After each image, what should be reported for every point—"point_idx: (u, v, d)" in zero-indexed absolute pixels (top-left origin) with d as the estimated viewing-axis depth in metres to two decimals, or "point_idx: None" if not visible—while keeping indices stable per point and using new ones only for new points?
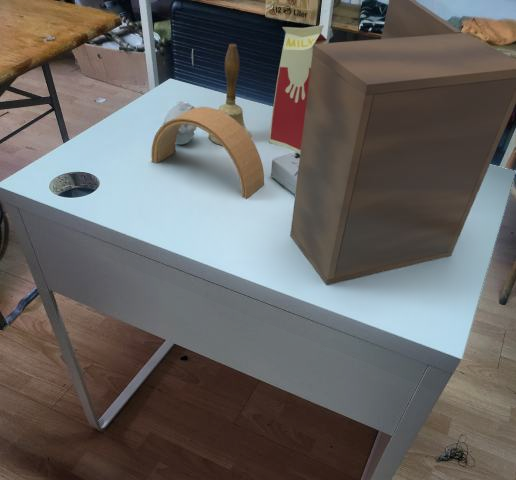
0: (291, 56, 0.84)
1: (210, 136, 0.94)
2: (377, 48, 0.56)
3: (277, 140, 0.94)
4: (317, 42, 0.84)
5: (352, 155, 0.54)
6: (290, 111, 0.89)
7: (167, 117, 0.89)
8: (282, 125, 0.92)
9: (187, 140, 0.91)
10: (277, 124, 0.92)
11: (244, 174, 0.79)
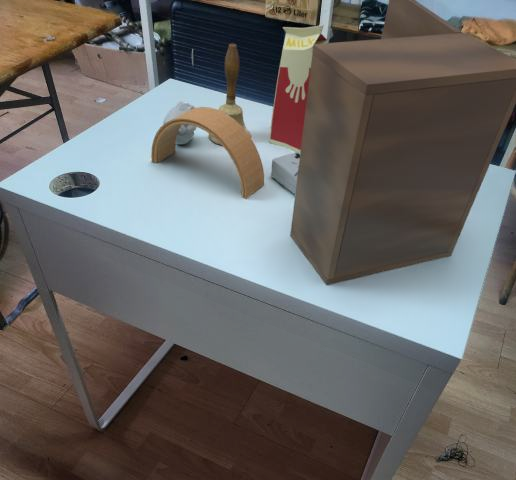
0: (291, 56, 0.84)
1: (210, 136, 0.94)
2: (377, 48, 0.56)
3: (277, 140, 0.94)
4: (317, 42, 0.84)
5: (352, 155, 0.54)
6: (290, 111, 0.89)
7: (167, 117, 0.89)
8: (282, 125, 0.92)
9: (187, 140, 0.91)
10: (277, 124, 0.92)
11: (244, 174, 0.79)
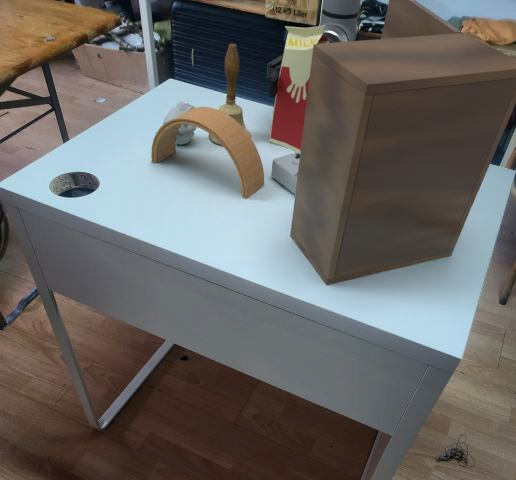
0: (293, 55, 0.84)
1: (210, 136, 0.94)
2: (377, 48, 0.56)
3: (277, 139, 0.94)
4: (319, 42, 0.84)
5: (352, 155, 0.54)
6: (291, 110, 0.89)
7: (167, 117, 0.89)
8: (282, 124, 0.91)
9: (187, 140, 0.91)
10: (278, 123, 0.92)
11: (244, 174, 0.79)
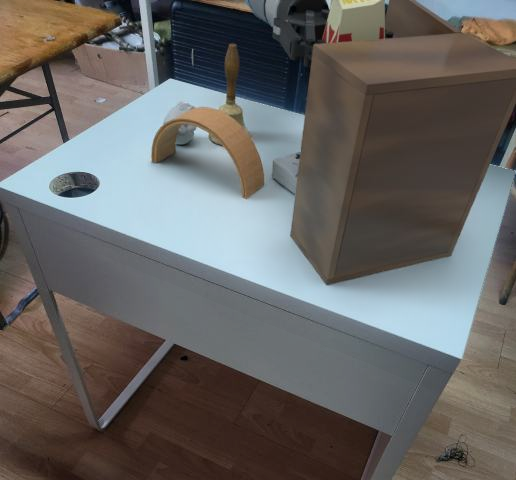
0: (356, 16, 0.61)
1: (210, 136, 0.94)
2: (377, 48, 0.56)
3: None
4: None
5: (352, 155, 0.54)
6: None
7: (167, 117, 0.89)
8: None
9: (187, 140, 0.91)
10: None
11: (244, 174, 0.79)
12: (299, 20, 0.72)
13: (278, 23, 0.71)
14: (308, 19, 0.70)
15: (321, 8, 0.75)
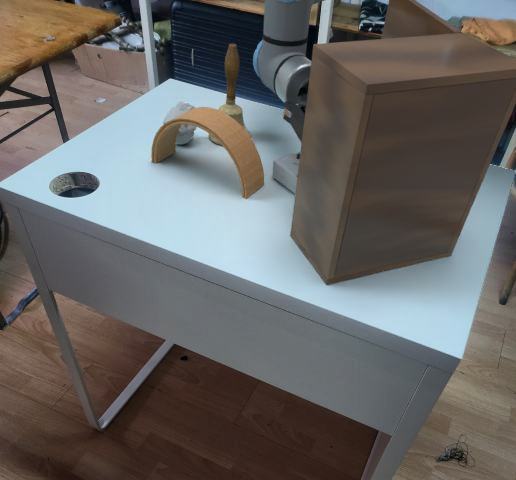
0: None
1: (210, 136, 0.94)
2: (377, 48, 0.56)
3: None
4: None
5: (352, 155, 0.54)
6: None
7: (167, 117, 0.89)
8: None
9: (187, 140, 0.91)
10: None
11: (244, 174, 0.79)
12: None
13: (289, 107, 0.74)
14: None
15: None
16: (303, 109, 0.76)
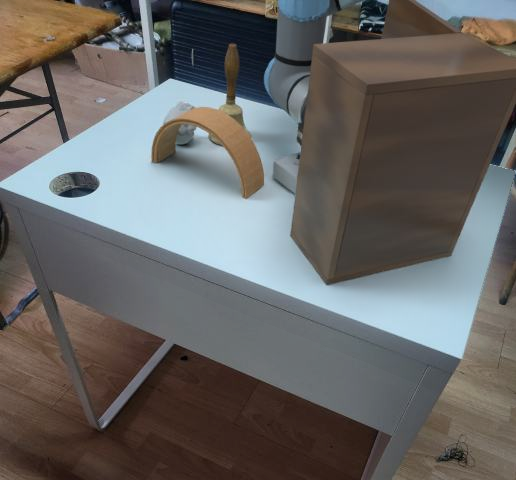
0: None
1: (210, 136, 0.94)
2: (377, 48, 0.56)
3: None
4: None
5: (352, 155, 0.54)
6: None
7: (167, 117, 0.89)
8: None
9: (187, 140, 0.91)
10: None
11: (244, 174, 0.79)
12: None
13: (301, 129, 0.71)
14: None
15: None
16: None
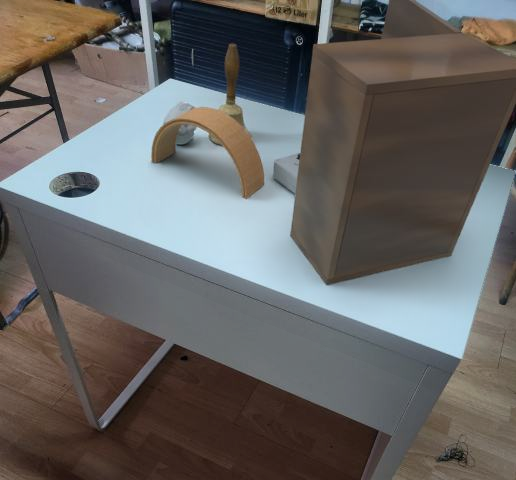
0: None
1: (210, 136, 0.94)
2: (377, 48, 0.56)
3: None
4: None
5: (352, 155, 0.54)
6: None
7: (167, 117, 0.89)
8: None
9: (187, 140, 0.91)
10: None
11: (244, 174, 0.79)
12: None
13: None
14: None
15: None
16: None
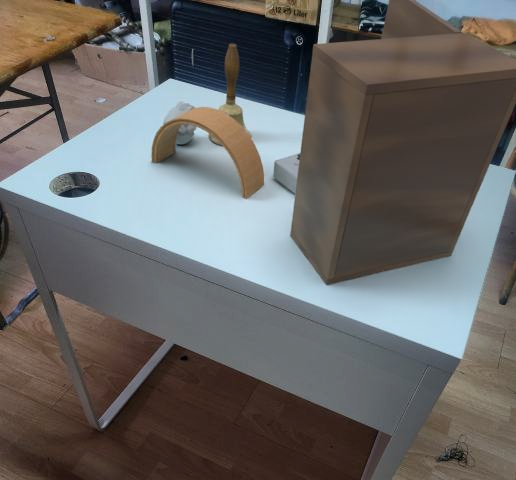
0: None
1: (210, 136, 0.94)
2: (377, 48, 0.56)
3: None
4: None
5: (352, 155, 0.54)
6: None
7: (167, 117, 0.89)
8: None
9: (187, 140, 0.91)
10: None
11: (244, 174, 0.79)
12: None
13: None
14: None
15: None
16: None
